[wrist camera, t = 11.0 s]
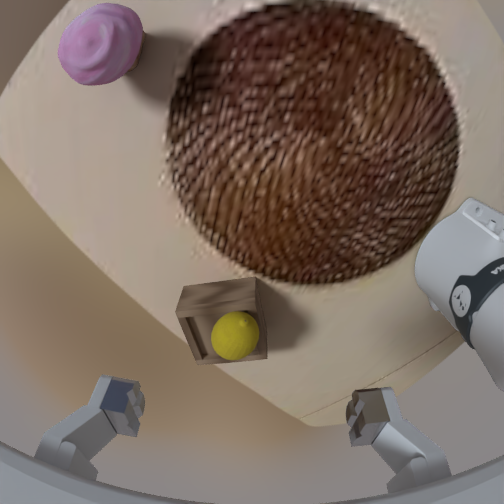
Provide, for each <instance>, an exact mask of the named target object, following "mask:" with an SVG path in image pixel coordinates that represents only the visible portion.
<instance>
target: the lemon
mask: <svg viewBox="0 0 504 504" xmlns="http://www.w3.org/2000/svg"><path fill="white" fill-rule="evenodd" d="M258 339H259V327H258V324H257V322H256V321H255V319H254V318H253V317H252V316H251V315H249V314H247V313H245V312H241V311H233V312H230V313H227V314H225V315H224V316H223V317H221V318H220V319H219V320H218V321H217V323H216V324H215V325H214V327H213V330H212V333H211V342H212V346H213V348H214V350H215V351H216V353H217V354H218V355H220V356H221V357H222V358H225V359H227V360H239V359H242V358H245V357H246V356H248V355H249V354H250V353H251V352H252V351H253V350H254V348H255V347H256V345H257V342H258Z"/></svg>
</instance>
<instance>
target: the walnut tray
mask: <svg viewBox="0 0 504 504" xmlns="http://www.w3.org/2000/svg"><path fill="white" fill-rule="evenodd" d="M233 311H241V312H245V313H247V314H249V315H251V316H252V317H253V318H254V319H255V321H256V322H257V324H258V327H259V339H258V342H257V345H256V347H255V348H254V350H253V351H252V352H251V353H250V354H249V355H248V356H246V357H245V358H242V359H239V360H227V359H225V358H222V357H221V356H220V355H218V354H217V353H216V351H215V350H214V348H213V346H212V342H211V333H212V330H213V327H214V325H215V324H216V323H217V321H218V320H219V319H220V318H221V317H223V316H224V315H225V314H227V313H230V312H233ZM175 312H176V315H177V317H178V320H179V322H180V325H181V327H182V330H183V332H184V334H185V337H186V339H187V342H188V344H189V346H190V348H191V351H192V353H193V356H194V358H195V360H196V362H197V364H198V365H204V364H218V363H231V362H242V361H252V360H261V359H267V331H266V326H265V321H264V316H263V311H262V306H261V301H260V296H259V292H258V287H257V282H256V277H249V278H241V279H234V280H227V281H219V282H212V283H204V284H197V285H189V286H184V287H183V290H182V293H181V296H180V299H179V302H178V305H177V308H176V311H175Z"/></svg>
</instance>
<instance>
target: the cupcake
mask: <svg viewBox="0 0 504 504" xmlns="http://www.w3.org/2000/svg"><path fill="white" fill-rule="evenodd" d="M144 40H145V32H144V31H143V27H142V23H141V21H140V18H139V17H138V15H137V14H136V13H135V12H134V11H133V10H131V9H130V8H128V7H125V6H122V5H119V4H111V3H102V4H97V5H95V6H93V7H91V8H89V9H87V10H86V11H84V12H83V13H82V14H80V15H79V16H77V17H76V18H75V19H74V20H73V21H72V22H71V23H70V24H69V25H68V26H67V28H66V29H65V31H64V32H63V35H62V37H61V40H60V44H59V49H58V58H59V60H60V63H61V65H62V67H63V68H64V70H65V71H66V72H67V73H68V74H69V76H70V77H71V78H72V79H74V80H75V81H76V82H78V83H80V84H83V85H102V84H107V83H110V82H113V81H115V80H117V79H118V78H120V77H121V76H123V75H124V74H125V73H126V72H130V71H132V70H133V69H134V68H135V67H136V66H137V65H138V62H139V57H140V55H141V51H142V45H143V42H144Z"/></svg>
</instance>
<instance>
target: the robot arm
mask: <svg viewBox="0 0 504 504" xmlns="http://www.w3.org/2000/svg"><path fill="white" fill-rule="evenodd" d="M476 208H477V210H476ZM415 277H416V281H417V283H418V285H419V287H420V288H421V290H422V291H423V292H425V293H426V294H427V296H428V298H429V302H430V305H431V307H432V308H433V309H434V310H435V311H440V312H441V313H442V314H443V315H444V316H445V318H446V319H447V320H448V321H449V322H450V323H451V325H452V326H453V327H454V328H455V329H456V330H457V331H459V332H460V333H461V336H462V338H463V339H464V341H465V342H467V344H468V345H469V346H470V347H471V348H472V349H475V350H476V352H477V353H478V355H479V357H480V358H481V360H482V361H483V363H484V365H485V366H486V368H487V370H488V372H489V373H490V375H491V377H492V379H493V381H494V382H495V384H496V386H497V387H498V388H499V389H500V390H502V391H504V214H502V213H500V212H499V211H497V210H495V209H493V208H491V207H489V206H488V205H486V204H484V203H482V202H480V201H478V200H476V199H474V198H468V199H467V200H466V201H465V202H464V203H463V204H462V205H461V206H460V208H459V209H458V210H457V211H456V212H455V213H453V214H452V215H450V216H448V217H446V218H445V219H443V220H442V221H440V222H439V223H438V224H437V225H436V226H435V227H434V228H433V229H432V230H431V231H430V232H429V234H428V235H427V236H426V238H425V239H424V241H423V243H422V245H421V247H420V249H419V251H418V254H417V258H416V263H415ZM140 387H141V386H140V383H139V381H135V380H129V379H123V378H118V377H114V376H108V375H102V376H101V377H100V378H99V380H98V382H97V384H96V387H95V389H94V391H93V394H92V396H91V399H90V401H89V403H88V405H87V406H86V405H84V406H82V407H81V408H80V409H78V410H77V411H75V412H74V413H72V414H71V415H69V416H68V417H67V418H65V419H64V420H62V421H61V422H59V423H58V424H56V425H55V426H53V427H52V428H51V429H49V430H48V431H46V432H45V433H44V435H43V437H42V440H41V442H40V444H39V447H38V449H37V451H36V454H35V456H34V457H32V456H29V455H27V454H25V453H23V452H21V451H18V450H17V449H15V448H13V447H11V446H9V445H6V444H5V443H3V442H1V441H0V504H213V503H203V502H195V501H187V500H180V499H173V498H167V497H161V496H156V495H151V494H146V493H142V492H137V491H133V490H128V489H124V488H120V487H116V486H113V485H109V484H106V483H102V482H99V481H96V477H97V474H98V471H97V469H96V468H95V467H94V466H93V465H92V464H91V463H90V459H92V458H93V457H94V456H95V455H96V454H97V453H98V452H99V451H100V450H101V449H102V448H103V447H104V446H106V445H107V444H108V443H109V442H110V441H111V440H112V439H113V438H114V437H115V436H116V435H117V434H122V435H128V436H133V437H137V433H138V429H139V426H140V422H139V420H138V418H139V417H141V416H142V415H143V412H144V407H145V398H144V394H143V393H142V392H141V391H140ZM346 420H347V424H348V425H349V426H350V427H351V430H350V432H349V436H350V441H351V446H362V445H371V446H372V447H373V448H374V449H375V451H376V452H377V453H378V454H379V455H380V456H381V457H382V458H383V460H384V461H385V462H386V463H387V464H388V465H389V466H390V467H391V469H392V470H393V471H394V472H395V473H396V476H394V477H393V478H392V479H391V480H390V481H389V482H388V483H387V489H388V494H383V495H378V496H372V497H367V498H361V499H355V500H347V501H340V502H331V503H321V504H504V455H502V456H500V457H498V458H496V459H494V460H491V461H489V462H487V463H484V464H482V465H480V466H477V467H474V468H472V469H469V470H467V471H464V472H461V473H458V474H456V475H453V476H452V475H451V472H450V469H449V465H448V462H447V459H446V456H445V453H444V451H443V449H441V448H440V447H439V446H438V445H436V444H435V443H434V442H433V441H432V440H430V439H429V438H428V437H427V436H426V435H425V434H423V433H422V432H421V431H420V430H419V429H417V428H416V427H415V426H414V425H413V424H411V423H410V422H409V421H408V420H407V419H403V418H402V415H401V412H400V409H399V406H398V403H397V400H396V397H395V394H394V391H393V389H392V388H391V387H384V388H371V389H361V390H355V391H353V393H352V400H351V401H349V402H348V405H347V408H346ZM116 433H117V434H116Z"/></svg>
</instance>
